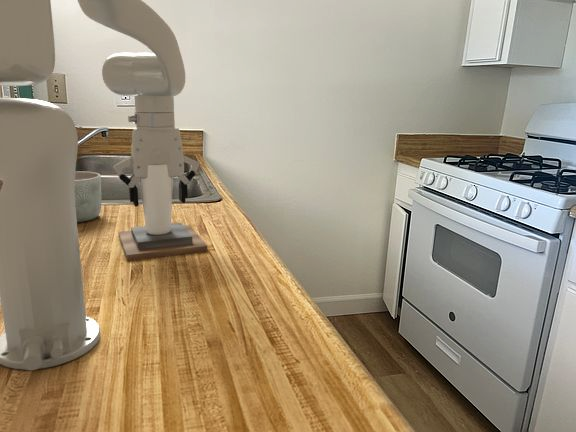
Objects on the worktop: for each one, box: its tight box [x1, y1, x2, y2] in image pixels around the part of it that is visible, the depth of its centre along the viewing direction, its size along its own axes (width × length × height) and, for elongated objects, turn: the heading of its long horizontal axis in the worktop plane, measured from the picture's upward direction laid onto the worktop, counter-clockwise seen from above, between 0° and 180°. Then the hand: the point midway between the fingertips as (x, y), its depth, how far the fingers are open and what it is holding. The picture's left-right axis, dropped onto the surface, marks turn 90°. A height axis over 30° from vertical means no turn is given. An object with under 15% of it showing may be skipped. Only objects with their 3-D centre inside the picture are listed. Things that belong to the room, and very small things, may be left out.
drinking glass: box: [138, 164, 174, 235], centre depth 100 cm, size 7×7×15 cm
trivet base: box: [117, 222, 208, 262], centre depth 103 cm, size 16×16×3 cm
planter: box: [75, 170, 102, 223], centre depth 119 cm, size 12×12×11 cm
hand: (159, 203), depth 101 cm, fingers open, 9 cm apart
